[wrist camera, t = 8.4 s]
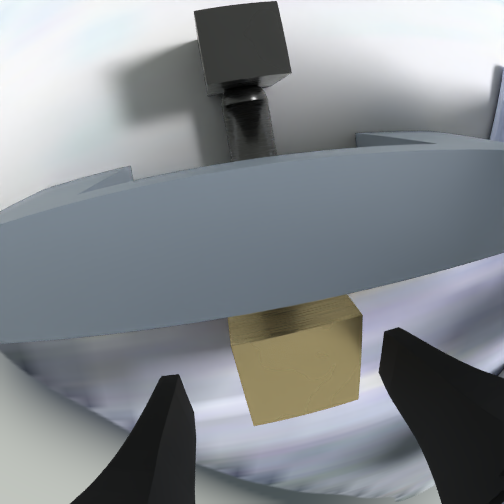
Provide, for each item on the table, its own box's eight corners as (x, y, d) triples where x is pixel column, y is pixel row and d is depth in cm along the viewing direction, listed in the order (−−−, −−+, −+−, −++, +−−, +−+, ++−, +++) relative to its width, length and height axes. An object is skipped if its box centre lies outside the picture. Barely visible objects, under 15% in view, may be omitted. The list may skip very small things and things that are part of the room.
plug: (176, 43, 10) (156, -6, 5) (280, 28, 10) (322, -23, 6) (240, 345, 15) (253, 426, 11) (320, 327, 15) (358, 399, 11)
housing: (45, 188, 11) (-57, 244, 5) (430, 131, 12) (544, 151, 6) (63, 254, 12) (-14, 344, 6) (431, 193, 13) (536, 241, 7)
